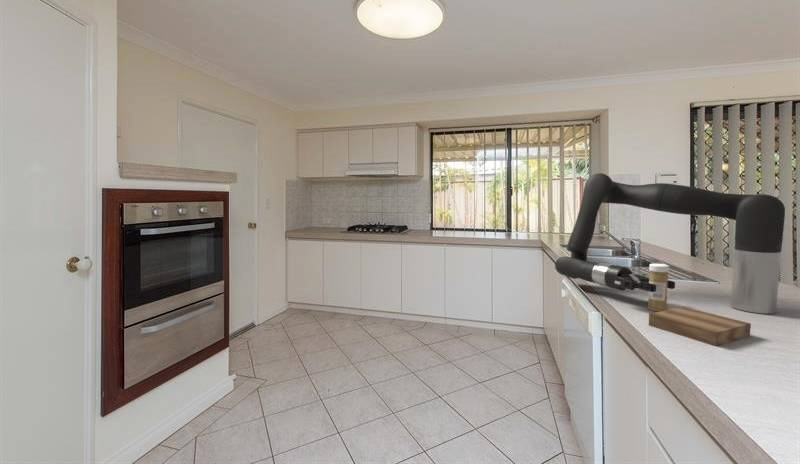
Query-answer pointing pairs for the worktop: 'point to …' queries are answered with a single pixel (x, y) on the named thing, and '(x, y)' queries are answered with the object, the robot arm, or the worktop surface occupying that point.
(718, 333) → the walnut base
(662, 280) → the spice jar
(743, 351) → the worktop surface
